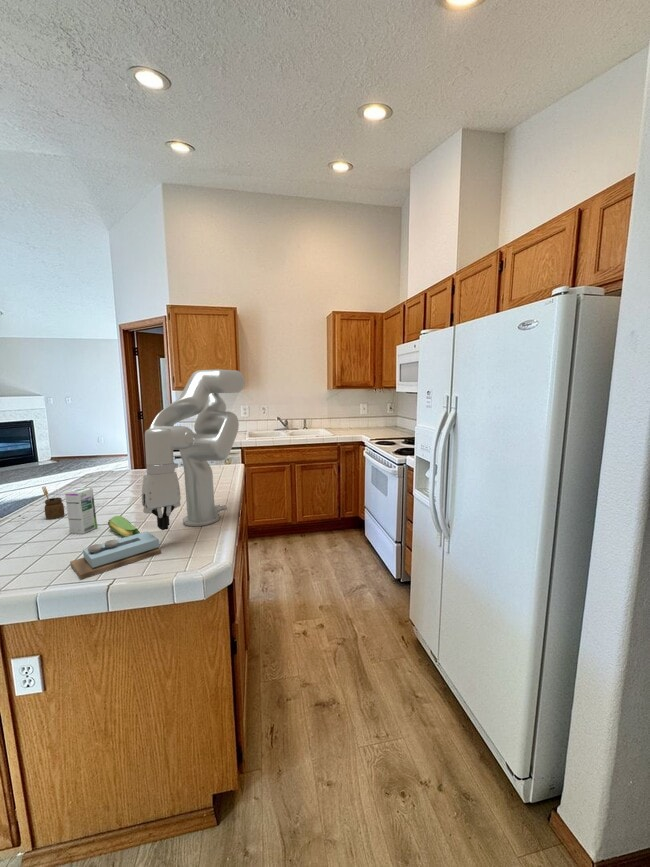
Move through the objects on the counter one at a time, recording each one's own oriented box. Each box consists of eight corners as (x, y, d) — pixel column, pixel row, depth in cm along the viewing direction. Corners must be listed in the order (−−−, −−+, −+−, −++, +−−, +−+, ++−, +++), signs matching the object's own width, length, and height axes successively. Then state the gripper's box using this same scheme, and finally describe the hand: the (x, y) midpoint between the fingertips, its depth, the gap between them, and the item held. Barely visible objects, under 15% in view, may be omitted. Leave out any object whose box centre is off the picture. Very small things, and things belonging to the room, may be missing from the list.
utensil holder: (57, 519, 138) (53, 488, 136) (40, 519, 138) (37, 488, 136) (68, 514, 143) (65, 484, 142) (52, 514, 144) (49, 484, 142)
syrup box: (83, 534, 123) (79, 492, 121) (69, 533, 124) (64, 491, 122) (97, 527, 128) (93, 487, 126) (83, 527, 129) (79, 486, 127)
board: (147, 542, 114) (145, 526, 114) (161, 553, 107) (159, 535, 106) (70, 565, 100) (68, 546, 100) (80, 579, 93) (78, 559, 92)
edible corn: (122, 513, 130) (108, 513, 127) (145, 528, 117) (130, 528, 113) (118, 528, 130) (104, 528, 126) (141, 544, 116) (126, 545, 113)
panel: (147, 538, 114) (147, 531, 113) (159, 546, 107) (158, 539, 107) (83, 557, 102) (82, 549, 101) (92, 568, 95) (91, 559, 95)
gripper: (179, 464, 118) (182, 520, 120) (129, 471, 108) (133, 532, 109) (190, 467, 113) (192, 525, 114) (138, 474, 102) (142, 538, 104)
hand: (163, 528), depth 112 cm, fingers closed
